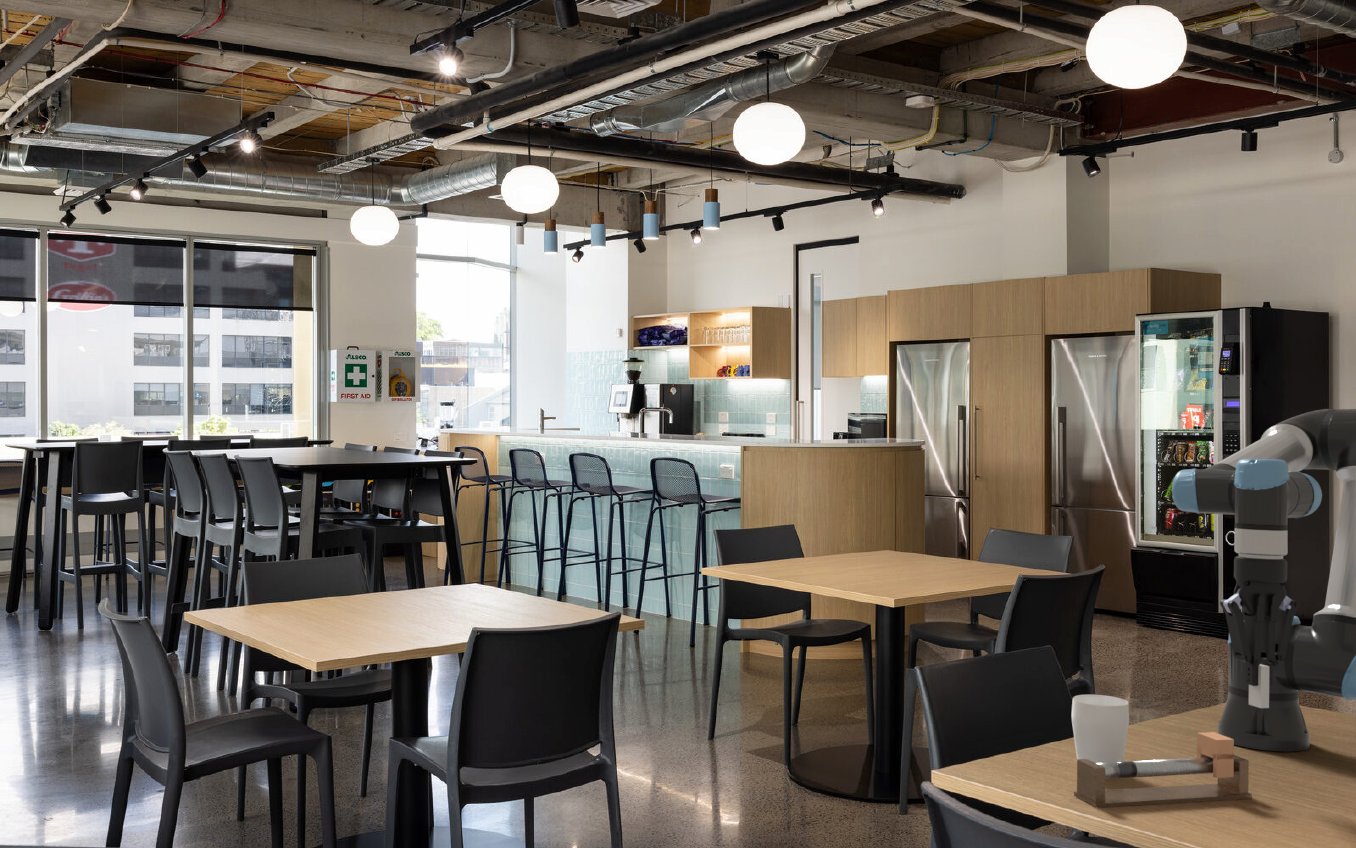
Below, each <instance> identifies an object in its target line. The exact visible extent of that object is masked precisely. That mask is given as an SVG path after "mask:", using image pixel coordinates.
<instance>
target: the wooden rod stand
mask: <svg viewBox="0 0 1356 848" xmlns="http://www.w3.org/2000/svg"><path fill="white" fill-rule="evenodd" d="M1249 764H1250V763H1249V759H1246V758H1243V757H1241V756H1238V755H1236V754H1234V777H1226V778H1217V783H1203V784H1191V785H1190V784H1189V785H1188V784H1187V785H1173V786H1172V785H1171V786H1170V785H1169V786H1153V787H1152V786H1151V787H1139V788H1138V787H1136V788H1135V787H1134V788H1121V789H1117V788H1115V789H1106V780H1113V779H1115V780H1116V779H1130V778H1131V779H1132V778H1147V777H1168V776H1186V775H1202V774H1203V775H1204V774H1205V775H1207V774H1213V758H1211V757H1204V758H1197V757H1191V758H1189V757H1188V758H1172V759H1171V758H1169V759H1167V758H1166V759H1149V760H1131V761H1126V760H1125V761H1123V762H1107V763H1094V762H1092V761H1090V760H1088V759H1077V758H1076V765H1077V767H1076V791H1073V796H1074V797H1075V796H1076V797H1075V798H1077V797H1078V799H1079V798H1080V800H1081V801H1083V802H1085V801H1086V802H1088V803H1089V804H1088V803H1087V804H1088V805H1091V806H1092V807H1094V806H1095V807H1094V808H1096V807H1101V808H1113V807H1116V806H1118V807H1131V806H1132V807H1133V806H1145V805H1147V806H1148V805H1149V806H1150V805H1163V804H1164V805H1165V804H1167V805H1168V804H1178V803H1179V804H1180V803H1181V804H1182V803H1197V802H1199V803H1200V802H1214V801H1216V802H1217V801H1229V800H1231V801H1232V800H1246V799H1248V800H1249V799H1250V800H1251V799H1252V797H1253V796H1252V794H1251V793H1249V777H1250V774H1249V769H1250V768H1249V766H1250V765H1249ZM1086 802H1085V803H1086Z"/></svg>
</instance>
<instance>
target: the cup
mask: <svg viewBox="0 0 1356 848" xmlns="http://www.w3.org/2000/svg"><path fill="white" fill-rule="evenodd" d="M1071 703H1072V704H1071V724H1072V732H1073V739H1074V746H1075V747H1074V748H1075V754H1076V755H1075V756H1076V760H1077V759H1088V760H1090V761H1092V762H1094V763H1107V762H1124V759H1125V758H1124V757H1125V752H1126V747H1127V739H1128V733H1129V727H1130V711H1129V710H1130V709H1129V701H1127V700H1126V699H1123V698H1121V697H1116V696H1111V695H1110V696H1109V695H1104V694H1078V695H1075V696H1073V697H1072V702H1071Z"/></svg>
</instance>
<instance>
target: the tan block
mask: <svg viewBox="0 0 1356 848" xmlns="http://www.w3.org/2000/svg"><path fill="white" fill-rule="evenodd" d="M1196 738H1197V740H1196V758H1204V757H1211V758H1213V773H1212V777H1213V778H1215V779H1218V778H1226V777H1234V755H1235V754H1234V753H1235V751H1234V750H1235V749H1234V747H1235V746H1234V745H1235V744H1234V739H1231V738H1229V737H1226V736H1223V735H1220V734H1218V732H1215V731H1210V732H1208V731H1207V732H1197V733H1196Z"/></svg>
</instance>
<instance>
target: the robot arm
mask: <svg viewBox="0 0 1356 848" xmlns="http://www.w3.org/2000/svg"><path fill="white" fill-rule="evenodd" d="M1303 470H1325V471H1326V470H1327V471H1330V470H1331V471H1335V476H1336V477H1337V479H1338V480H1339V481H1340V482H1341V484H1342V485H1343V487H1342V491H1341V492H1342V493H1341V499H1340V503H1339V504H1340V505H1339V512H1338V518H1337V526H1336V533H1335V538H1334V544H1333V551H1332V559H1331V562H1330V563H1331V564H1330V570H1329V577H1328V583H1327V589H1326V590H1327V591H1326V596H1325V603H1324V607H1323V608H1322V609H1321V610H1319V611H1317V612H1315V613H1313V618H1312V624H1311V626H1307V625H1301V621H1300V617H1298V616H1296V613H1297V611H1298V610H1299V608H1300V602H1299V601H1298V600H1293V599H1291V598H1290V597H1289V596H1287V591H1286V588H1285V583H1286V582H1287V580H1288V561H1287V559H1285V558H1284V556H1285V557H1286V556H1287V555H1288V552H1289V551H1288V550H1289V549H1288V548H1289V547H1288V544H1289V543H1288V537H1289V535H1288V532H1289V531H1288V527H1289V526H1288V519H1289V518H1290V519H1292V518H1294V519H1300V518H1303V517H1307V516H1310V515H1311V514H1313V513H1314V512H1315V511H1317V510H1318V508H1319V507H1320V505H1321V504H1322V503H1321V502H1322V499H1323V492H1322V489H1321V486H1320V484H1319V482H1318V480H1316V479H1315V478H1314V477H1313V476H1311V475H1309V474H1308V473H1303V472H1301V471H1303ZM1171 493H1172V500H1173V503H1174V504H1175V506H1176V508H1177V510H1178V509H1179V510H1180V511H1181V512H1188V513H1196V514H1198V515H1199V514H1211V515H1212V514H1213V515H1215V514H1216V515H1231V516H1233V515H1234V540H1233V541H1234V552H1235V553H1236V554H1238V555H1237V556H1235V557H1234V559H1233V578H1234V579H1235V581H1236V584H1235V587H1234V590H1233V595H1231V596H1230V597H1229V598H1228V599H1221V600H1220V601H1219V602H1220V603H1219V605H1220V607H1221V608H1222V610H1223V612H1224V613H1225V618H1226V623H1227V628H1228V640H1227V644H1228V645H1227V646H1228V647H1227V649H1228V650H1227V651H1228V652H1227V653H1228V669H1227V670H1228V691H1227V692H1228V696H1227V699H1226V702H1225V704H1224V708H1223V710H1222V714H1221V717H1220V720H1219V721H1218V723H1217V733H1218V734H1220V735H1223V736H1226V737H1229V738H1231V739H1234V745H1235V746H1239V747H1244V748H1249V749H1255V750H1262V751H1271V752H1299V751H1301V752H1302V751H1305V750H1308V749H1309V748H1310V732H1309V730H1308V729H1307V725H1306V721H1305V717H1304V714H1303V711H1302V708H1301V706H1300V701H1299V700H1300V699H1299V697H1300V695H1299V694H1300V692H1299V691H1302V692H1307V693H1313V694H1318V695H1324V696H1330V697H1337V698H1344V699H1346V700H1348V701H1354V700H1356V408H1342V409H1341V408H1337V409H1336V408H1334V409H1333V408H1323V409H1318V410H1317V409H1316V410H1312V411H1308V412H1305V413H1301V414H1299V415H1295V416H1293V417H1290V418H1287V419H1285V420H1282V421H1280V422H1278V423H1275V425H1272V426H1271V427H1269V428H1267V429H1266V430H1265V431H1264V432H1263V434H1262V435H1261V437H1260V439H1258V440H1257V441H1254V442H1253V443H1252V444H1249V445H1247V446H1246V447H1243V448H1242V449H1240V450H1238V451H1237V452H1234V453H1233V454H1231V455H1229V456H1228V457H1225V458H1223V459H1222V460H1220V461H1218V462H1217V463H1216V462H1215V463H1214V464H1213V465H1210V466H1209V467H1207V468H1205V469H1204V468H1203V469H1197V468H1190V469H1182V470H1179V471H1178V472H1177V473H1176V474H1175V476H1174V478H1173V481H1172V485H1171Z"/></svg>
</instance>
